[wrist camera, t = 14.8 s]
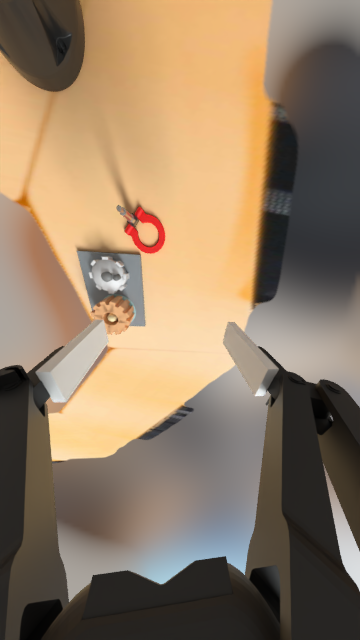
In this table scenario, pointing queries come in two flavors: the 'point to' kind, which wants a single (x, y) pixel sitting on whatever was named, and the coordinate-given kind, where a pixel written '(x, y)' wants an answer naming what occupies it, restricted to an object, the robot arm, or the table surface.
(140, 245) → the tow hook
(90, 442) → the table surface
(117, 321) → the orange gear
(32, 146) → the table surface
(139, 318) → the gear board
